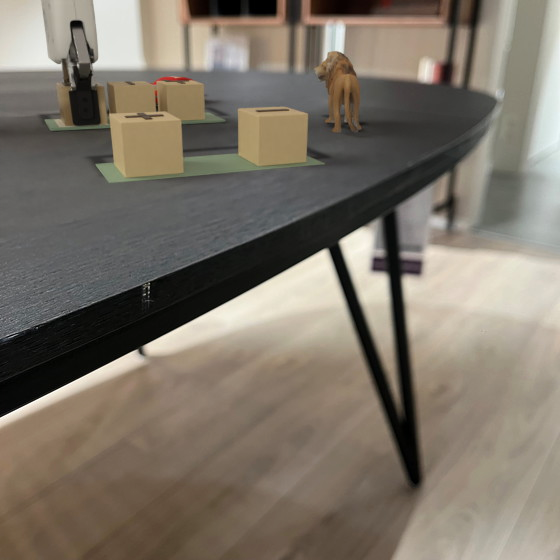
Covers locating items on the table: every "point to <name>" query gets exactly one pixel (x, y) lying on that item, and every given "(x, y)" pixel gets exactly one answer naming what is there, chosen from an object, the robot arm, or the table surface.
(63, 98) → the small cardboard box
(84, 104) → the robot arm
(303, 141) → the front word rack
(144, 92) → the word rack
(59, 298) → the table surface
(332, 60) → the lion figurine
